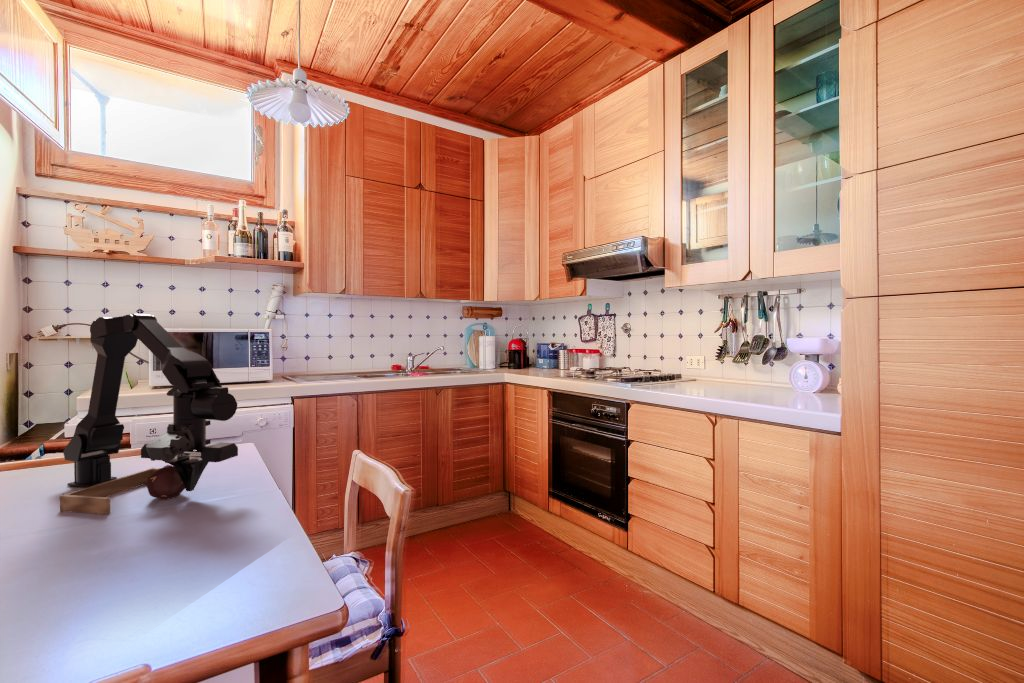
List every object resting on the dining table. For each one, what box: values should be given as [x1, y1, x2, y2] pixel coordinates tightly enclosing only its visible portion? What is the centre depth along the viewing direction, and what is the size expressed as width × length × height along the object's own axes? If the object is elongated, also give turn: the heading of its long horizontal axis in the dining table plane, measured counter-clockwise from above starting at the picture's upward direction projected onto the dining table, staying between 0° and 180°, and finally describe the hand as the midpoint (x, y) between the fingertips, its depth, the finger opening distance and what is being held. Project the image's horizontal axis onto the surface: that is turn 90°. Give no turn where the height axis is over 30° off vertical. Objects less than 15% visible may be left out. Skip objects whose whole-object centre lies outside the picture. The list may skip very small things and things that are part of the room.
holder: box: [59, 467, 161, 515], centre depth 104 cm, size 11×20×3 cm, turn 171°
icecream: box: [145, 464, 186, 501], centre depth 103 cm, size 7×7×15 cm
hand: (190, 490), depth 102 cm, fingers closed
